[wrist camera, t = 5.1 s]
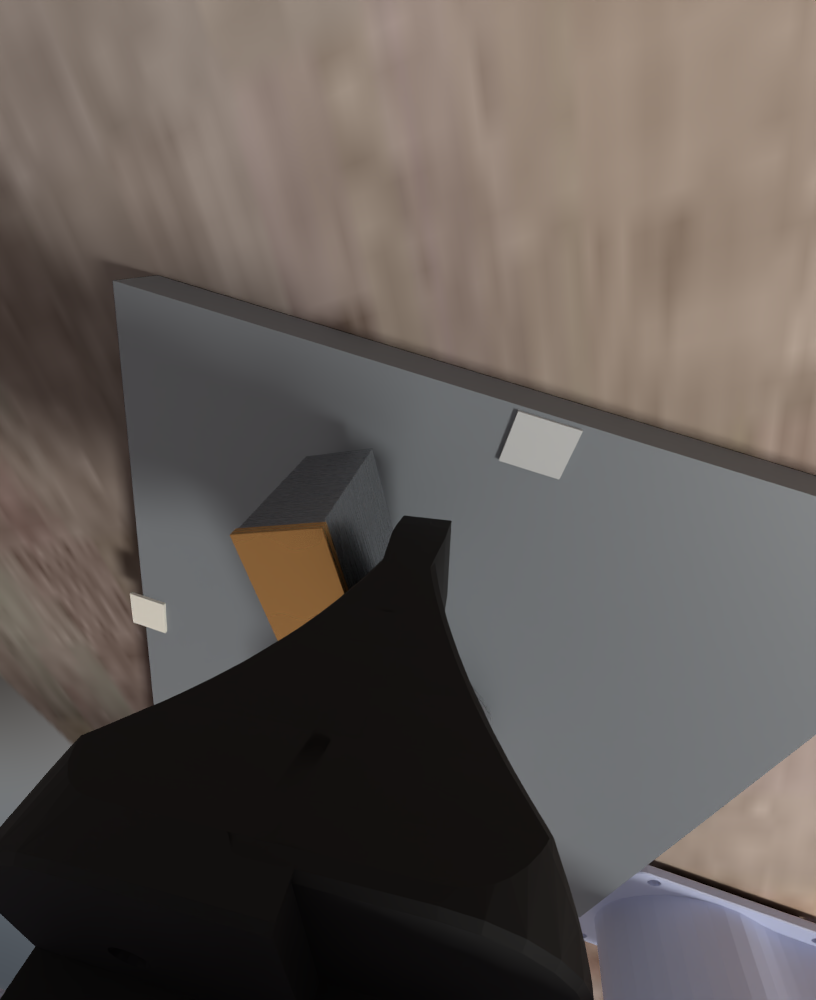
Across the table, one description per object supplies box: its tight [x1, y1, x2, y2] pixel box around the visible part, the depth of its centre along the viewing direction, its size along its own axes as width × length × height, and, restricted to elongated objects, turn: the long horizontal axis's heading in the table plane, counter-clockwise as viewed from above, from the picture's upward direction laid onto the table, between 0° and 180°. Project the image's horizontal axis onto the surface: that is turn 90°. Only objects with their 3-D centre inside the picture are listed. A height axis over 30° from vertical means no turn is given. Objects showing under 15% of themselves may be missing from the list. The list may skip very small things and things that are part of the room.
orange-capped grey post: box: [230, 448, 492, 725], centre depth 12 cm, size 4×12×4 cm, turn 12°
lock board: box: [113, 275, 816, 917], centre depth 16 cm, size 20×21×2 cm
